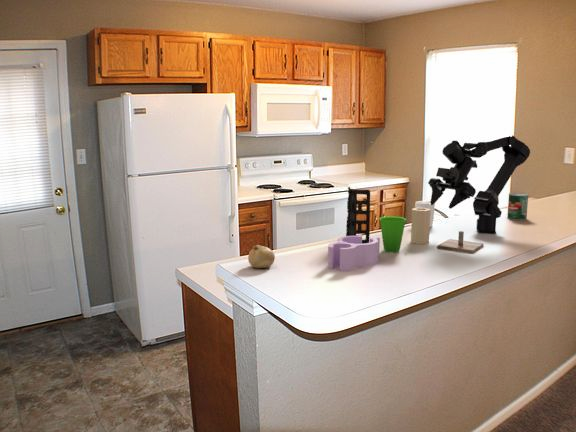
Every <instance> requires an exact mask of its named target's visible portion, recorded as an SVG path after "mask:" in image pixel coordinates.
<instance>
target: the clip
mask: <svg viewBox="0 0 576 432" xmlns="http://www.w3.org/2000/svg"><path fill="white" fill-rule="evenodd" d="M380 239H381V237H379V236H378V237H377V236H376V237H374V236H373V237H369V243H365V244H362V240H363V234H356V236H346V235H345V236H342V237H339V238H337V242H332V243H329V244H328V245H327V247H328V248H327V253H328V254H327V258H328V259H327V268H328V269H329V270H334V269H335V266H339V271H340V272H350V271H354V270H356V269H357V268H361V267H371V266H374V265H376V264H378V260H379V259H380V245H381V240H380Z"/></svg>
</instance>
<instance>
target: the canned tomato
mask: <svg viewBox="0 0 576 432" xmlns="http://www.w3.org/2000/svg"><path fill="white" fill-rule="evenodd" d="M507 203H508V207H507V219H508V220H512V221H526V220H528V219H527V218H528V215H527V214H528V203H529V194H528V193H524V192H510V193H508V202H507Z"/></svg>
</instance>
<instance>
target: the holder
mask: <svg viewBox="0 0 576 432" xmlns="http://www.w3.org/2000/svg"><path fill="white" fill-rule="evenodd" d="M347 193H348V197H347V201H346V202H347V203H346V204H347V205H346V207H347V208H346V209H347V210H346V212H347V217H346V229H345V230H346V231H345V232H346V233H345V236H357V235H365V239H362V244H365V243H370V231H371V230H370V228H371V226H370V225H371V190H370V189H354V188H351V187H350V186H348V187H347ZM358 195H365V196H366V199H365V200H358ZM363 205H366V209H365V210H363ZM357 215H365V216H366V217H365V220H364V219H363V220H360V219H357ZM362 225H365V229H362Z"/></svg>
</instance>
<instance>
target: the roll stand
mask: <svg viewBox="0 0 576 432" xmlns="http://www.w3.org/2000/svg"><path fill="white" fill-rule="evenodd" d="M464 232H465V231H461V230H458V239H453V238H449V239H447V240H445V241H443V242H441V243H440V244H437V246H436V248H437V249H440V250H447V251H454V252H461V253H468V254H474V253H476V252H477V251H479V250H480V249H481V248H483V247H484V245H485V244H484V242H477V241H467V240H464Z"/></svg>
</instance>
